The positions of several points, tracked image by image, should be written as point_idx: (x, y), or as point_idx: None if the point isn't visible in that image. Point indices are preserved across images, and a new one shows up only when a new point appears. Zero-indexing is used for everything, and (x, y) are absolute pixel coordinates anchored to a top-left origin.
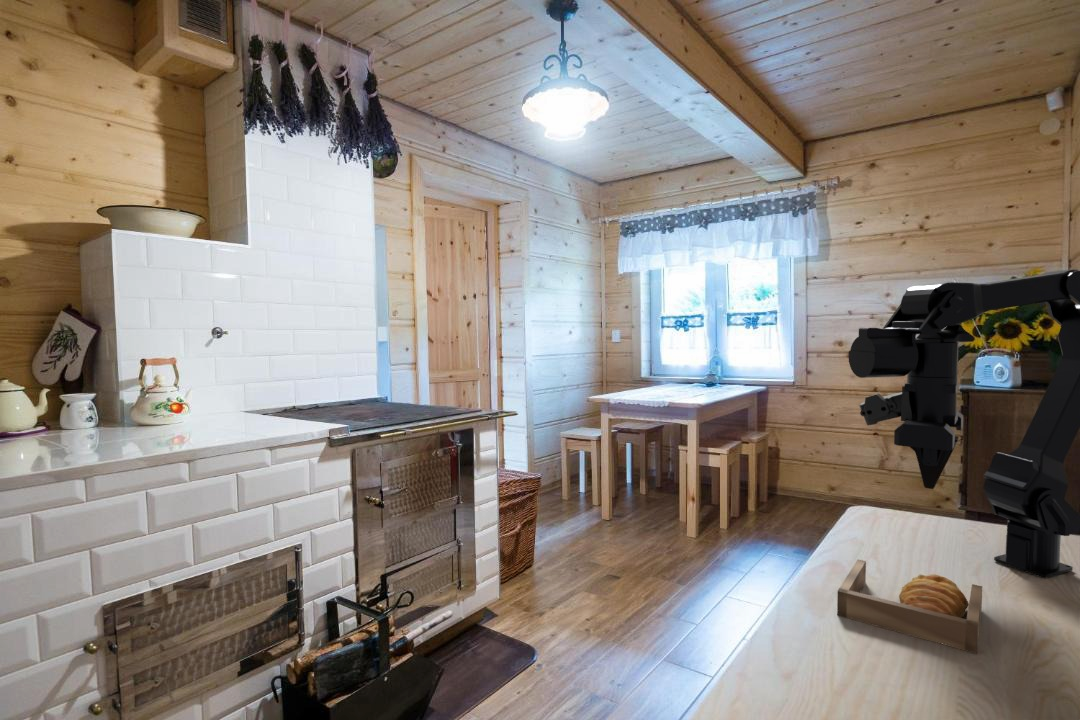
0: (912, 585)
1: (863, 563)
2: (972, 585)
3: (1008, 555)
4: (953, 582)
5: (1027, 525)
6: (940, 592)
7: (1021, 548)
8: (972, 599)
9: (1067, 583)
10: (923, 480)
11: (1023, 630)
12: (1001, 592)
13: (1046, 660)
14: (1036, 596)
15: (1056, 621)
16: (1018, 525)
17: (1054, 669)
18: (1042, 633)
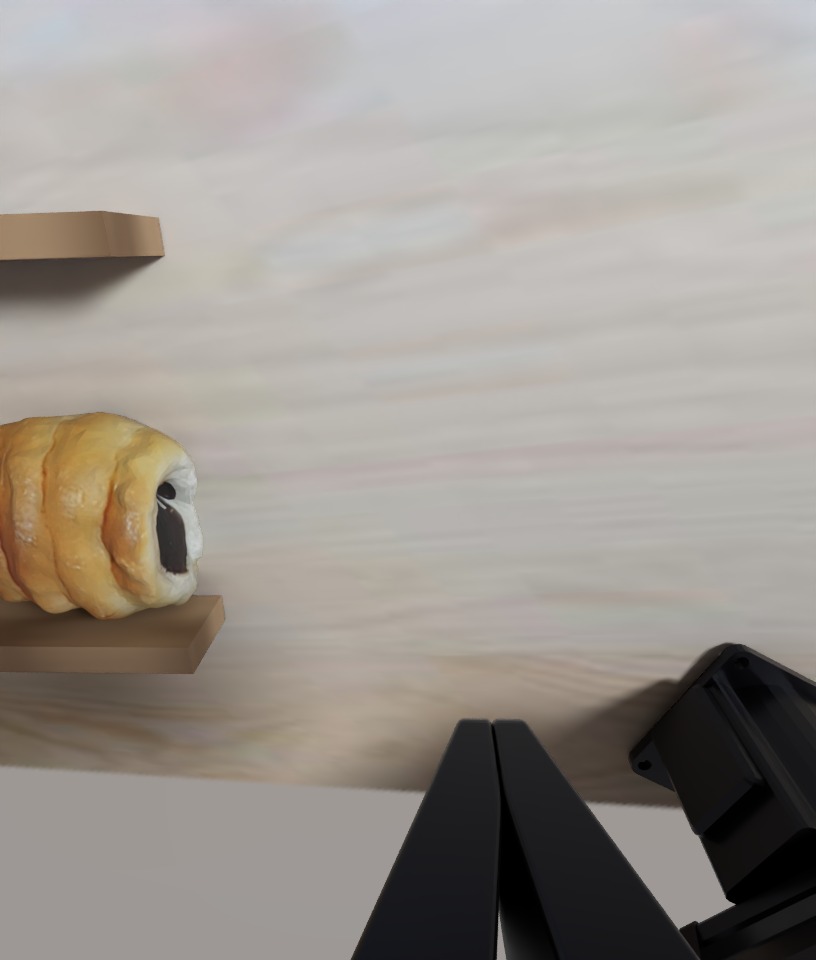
0: (10, 478)
1: (66, 253)
2: (173, 649)
3: (700, 712)
4: (146, 599)
5: (767, 893)
6: (8, 571)
7: (689, 782)
8: (44, 653)
9: (626, 798)
10: (434, 779)
11: (172, 701)
12: (421, 660)
13: (38, 734)
14: None
15: (297, 761)
16: (778, 859)
17: (7, 744)
18: (189, 734)
